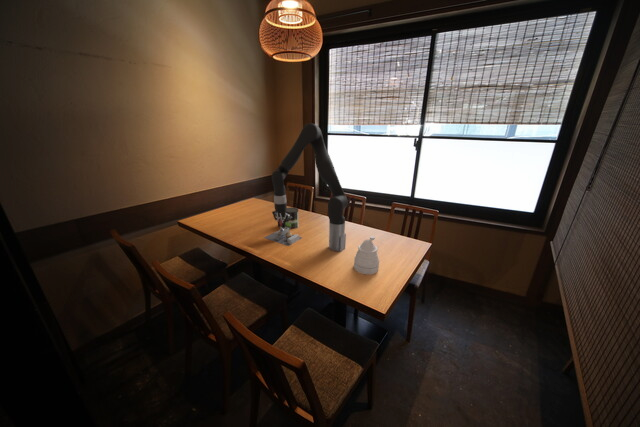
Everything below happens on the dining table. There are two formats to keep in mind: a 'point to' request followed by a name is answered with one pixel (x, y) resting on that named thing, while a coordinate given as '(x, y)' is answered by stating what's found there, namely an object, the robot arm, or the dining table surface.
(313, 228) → the dining table surface
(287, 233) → the tan ball
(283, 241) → the nutcracker bench
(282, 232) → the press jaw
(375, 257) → the honey pot
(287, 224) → the coffee can
